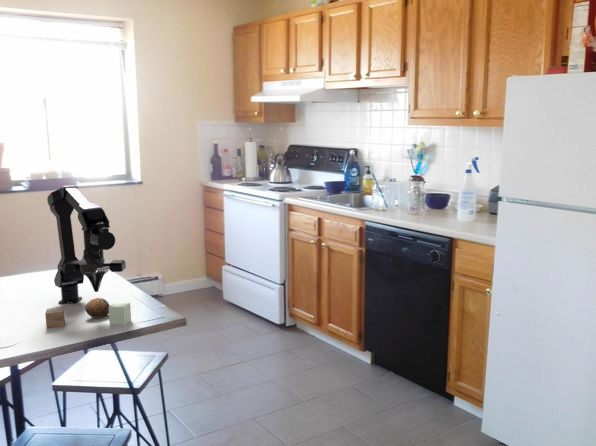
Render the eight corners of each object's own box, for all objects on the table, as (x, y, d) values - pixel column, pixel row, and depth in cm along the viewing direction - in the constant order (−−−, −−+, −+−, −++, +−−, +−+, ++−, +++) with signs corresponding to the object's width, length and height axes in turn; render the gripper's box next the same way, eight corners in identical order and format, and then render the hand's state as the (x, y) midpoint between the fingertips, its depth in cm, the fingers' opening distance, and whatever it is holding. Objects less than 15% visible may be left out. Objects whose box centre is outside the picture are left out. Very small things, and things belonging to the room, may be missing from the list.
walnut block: (48, 323, 187) (46, 308, 186) (64, 322, 188) (63, 307, 187) (46, 328, 182) (45, 313, 181) (63, 327, 184) (62, 311, 183)
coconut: (84, 303, 197) (90, 291, 194) (107, 309, 200) (113, 297, 197) (80, 321, 190) (86, 308, 187) (104, 327, 193) (110, 315, 190)
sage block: (116, 319, 190) (115, 302, 189) (131, 320, 189) (130, 302, 188) (109, 325, 185) (108, 306, 184) (124, 325, 184) (123, 307, 183)
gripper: (55, 251, 181) (59, 299, 184) (116, 249, 182) (119, 298, 185) (67, 243, 192) (71, 289, 195) (124, 242, 193) (127, 288, 196)
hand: (96, 291), depth 192 cm, fingers closed
